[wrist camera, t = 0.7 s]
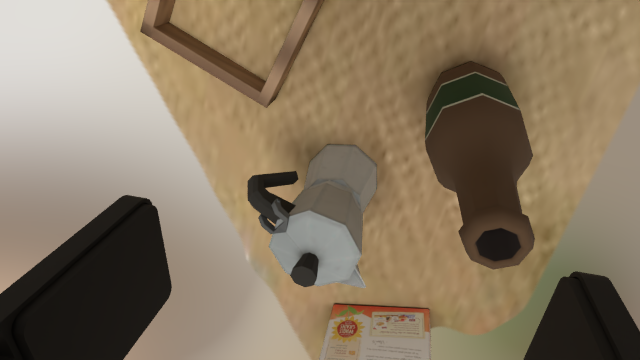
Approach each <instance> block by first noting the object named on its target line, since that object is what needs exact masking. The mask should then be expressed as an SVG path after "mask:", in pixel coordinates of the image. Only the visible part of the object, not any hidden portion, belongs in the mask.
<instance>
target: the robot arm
mask: <svg viewBox="0 0 640 360" xmlns="http://www.w3.org/2000/svg"><path fill="white" fill-rule="evenodd" d="M171 288H172V287H171V280H170V275H169V269H168V264H167V258H166V253H165V248H164V242H163V238H162V232H161V227H160V221H159V216H158V211H157V208H156V207H155V206H153V205H152V203H151V201H150V200H149V199H147V198H141V197H135V196H129V195H125V196H122V197H121V198H119V199H118V200H117V201H116V202H114V203H113V204H112V205H111V206H109V207H108V208H107V209H106V210H104V211H103V212H102V213H101V214H99V215H98V216H97V217H96V218H95V219H93V220H92V221H91V222H89V223H88V224H87V225H86V226H85V227H83V228H82V229H81V230H79V231H78V232H77V233H76V234H74V236H72V237H71V238H69V239H68V240H67V241H66V242H64V243H63V244H62V245H61V246H60V247H58V248H57V249H56V250H55V251H53V252H52V253H51V254H50V255H48V256H47V257H46V258H44V259H43V260H42V261H41V262H40V263H38V264H37V265H36V266H35V267H33V268H32V269H31V270H30V271H28V272H27V273H26V274H25V275H23V276H22V277H21V278H20V279H18V280H17V281H16V282H15V283H13V284H12V285H11V286H10V287H9V288H7V289H6V290H5V291H3V292H2V293H1V294H0V360H123V359H124V358H125V356H126V355H127V354H128V352H129V351H130V349H131V348H132V347H133V345H134V344H135V343H136V341H137V340H138V338H139V337H140V336H141V335H142V333H143V332H144V331H145V329H146V328H147V326H148V325H149V324H150V323H151V321H152V320H153V319H154V317H155V316H156V314H157V313H158V311H159V310H160V309H161V308H162V306H163V305H164V304H165V302H166V301H167V299H168V298H169V296H170V293H171ZM524 360H640V331H639V329H638V328H637V326H636V324H635V322H634V321H633V319H632V317H631V316H630V314H629V312H628V310H627V308H626V307H625V305H624V303H623V302H622V300H621V298H620V296H619V295H618V293H617V291H616V289H615V288H614V286H613V284H612V282H611V281H610V280H609V278H607V277H605V276H600V275H594V274H587V273H582V272H573V273H572V274H571V275H570V276H569V277H562V278H561V279H560V281H559V283H558V285H557V287H556V289H555V292H554V294H553V296H552V298H551V301H550V302H549V305H548V307H547V309H546V311H545V313H544V316H543V318H542V320H541V322H540V324H539V326H538V329H537V331H536V333H535V335H534V338H533V340H532V342H531V344H530V346H529V348H528V351H527V353H526V355H525V358H524Z"/></svg>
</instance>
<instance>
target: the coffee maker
mask: <svg viewBox="0 0 640 360" xmlns="http://www.w3.org/2000/svg"><path fill="white" fill-rule="evenodd" d="M297 180H298V176H297V172H296V171H293V172H283V173H272V174H262V175H254V176H252V177H251V178H250V179H249V180H248V201H249V202H250V204H251V205H252V206H253V208H255V209H256V210H257V211H259V212H260V213H261V215H260V216H259V221H260V223H261V226H262V227H263V228H264V229H265V230H267V231H268V232H269V233H270V234H273V235H272V238H271V241H270V244H269V248H270V249H271V251H272V252H273V254H274V255H275V257H276V258H277V260H278V262H279V263H280V265H281V266H282V268H283V269H284V271H285V272H286V273H287V274H290V276H291V277H292V279H293V281H294V282H295V283H296V284H299V285H301V286H303V287H308V286H312V285H316V286H322V285H326V284H331V283H336V282H337V283H342V284H347V285H351V286H356V287H361V288H365V287H366V285H365V283H364V282H363V280H362V278H361V276H360V272H359V268H358V265H357V263H358V261H359V259H360V257H361V255H362V225H363V214H362V213H363V212H364V210H365V208H366V207H367V205H368V203H369V201H370V200H371V198H372V196H373V195H374V193H375V191H376V189H377V164H376V163H375V162H374V161H373V160H372V159H370V158H369V157H368V156H367V155H366V154H365V153H364V152H363V151H362V150H361V149H359V148H358V147H357V146H356V145H334V144H327V145H326V146H325V147H324V148H323V149H322V150H321V151H320V152H319V153H318V154H317V155H316V156H315V157H314V158H313V159H312V160H311V161H310V164H309V168H308V172H307V177H306V181H305V186H304V190H303V191H302V192H301V193H300V194H299V195H298V197H297V198H296V199H295V200H294V201H293V202H292V203H290V202H288V201H286V200H284V199H282V198H280V197H278V196H276V195H274V194H272V193H270V192H268V191H267V190H266V189H265V188H268V187H275V186H282V185H290V184H294V183H295V182H296V181H297ZM267 218H268V219H269V220H271V221H272V222H273V223H274V224H276V225H275V227H274V226H273V225H272V224H271V223H270V222H269V221H268V220H267Z"/></svg>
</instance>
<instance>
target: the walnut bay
mask: <svg viewBox="0 0 640 360" xmlns="http://www.w3.org/2000/svg"><path fill="white" fill-rule="evenodd" d="M323 1H324V0H304V1H303V3H302V5H301V7H300V9H299V11H298V14H297V16H296V18H295V20H294V22H293V24H292V27H291V29H290V31H289V33H288V35H287V37H286V40H285V42H284V44H283V46H282V48H281V50H280V53H279V55H278V57H277V59H276V61H275V63H274V66H273V68H272V70H271V72H270V74H269V76H268V79H267V81H264V80H262V79H261V78H259V77H257V76H256V75H254V74H253V73H251V72H249V71H248V70H246V69H244V68H243V67H241V66H239V65H238V64H236V63H234V62H233V61H231V60H230V59H228V58H226V57H225V56H223V55H221V54H220V53H218V52H216V51H215V50H213V49H211V48H210V47H208V46H207V45H205V44H203V43H202V42H200V41H198V40H197V39H195V38H193V37H192V36H190V35H189V34H187V33H185V32H184V31H182V30H180V29H179V28H177V27H175V26H174V25H172V24H170V23H169V21H170V17H171V13H172V10H173V6H174V3H175V0H148V2H147V6H146V10H145V14H144V19H143V23H142V27H141V31H140V32H142V33H144V34H145V35H147V36H149V37H150V38H152V39H154V40H155V41H157V42H159V43H160V44H162V45H164V46H165V47H167V48H168V49H170V50H172V51H173V52H175V53H177V54H178V55H180V56H182V57H183V58H185V59H187V60H188V61H190V62H192V63H193V64H195V65H197V66H198V67H200V68H202V69H203V70H205V71H206V72H208V73H210V74H211V75H213V76H215V77H216V78H218V79H220V80H221V81H223V82H225V83H226V84H228V85H230V86H231V87H233V88H235V89H236V90H238V91H240V92H241V93H243V94H244V95H246V96H248V97H249V98H251V99H253V100H254V101H256V102H258V103H259V104H261V105H263V106H264V107H266V108H267V107H268V106H269V105H270V104H271V103H272V102H273V101H274V100H275V99H276V97H277V95H278V93H279V91H280V89H281V87H282V85H283V83H284V81H285V78H286V76H287V74H288V72H289V70H290V68H291V66H292V64H293V62H294V60H295V58H296V56H297V54H298V52H299V50H300V48H301V46H302V44H303V42H304V40H305V38H306V36H307V34H308V32H309V29H310V27H311V25H312V23H313V21H314V19H315V17H316V15H317V13H318V11H319V9H320V7H321V5H322V3H323Z"/></svg>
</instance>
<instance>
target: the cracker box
mask: <svg viewBox="0 0 640 360" xmlns="http://www.w3.org/2000/svg"><path fill="white" fill-rule="evenodd" d="M430 335H431V334H430V314H429V309H416V308H397V307H377V306H357V305H338V304H334V306H333V309H332V313H331V316H330V320H329V324H328V328H327V332H326V335H325V339H324V343H323V347H322V350H321V354H320V358H319V360H431V336H430Z"/></svg>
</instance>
